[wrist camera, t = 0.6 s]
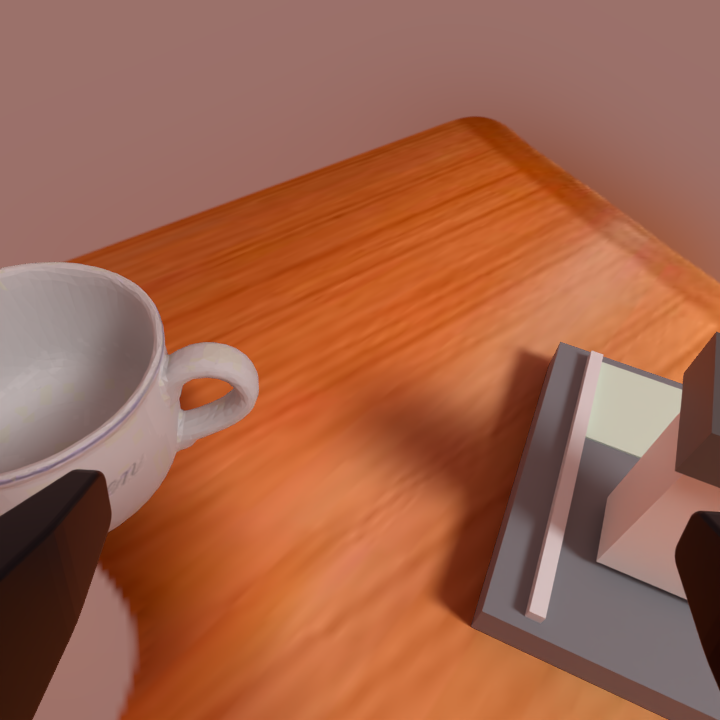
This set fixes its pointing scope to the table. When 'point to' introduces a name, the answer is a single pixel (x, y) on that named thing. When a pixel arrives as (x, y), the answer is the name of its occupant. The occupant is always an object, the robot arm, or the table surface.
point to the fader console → (592, 545)
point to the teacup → (100, 385)
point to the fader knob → (668, 483)
